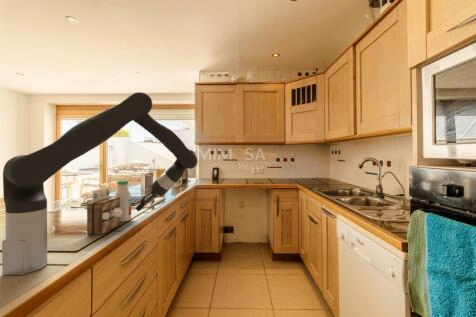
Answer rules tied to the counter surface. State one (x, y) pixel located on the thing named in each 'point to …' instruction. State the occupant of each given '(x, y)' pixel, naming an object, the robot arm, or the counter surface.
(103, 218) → the left button
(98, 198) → the card
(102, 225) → the brown wooden box
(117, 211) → the middle button
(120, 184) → the milk bottle
